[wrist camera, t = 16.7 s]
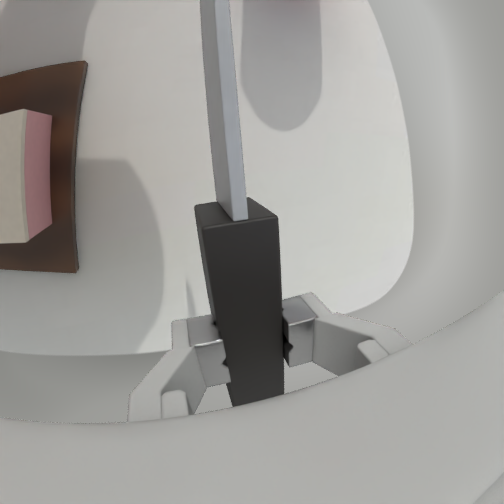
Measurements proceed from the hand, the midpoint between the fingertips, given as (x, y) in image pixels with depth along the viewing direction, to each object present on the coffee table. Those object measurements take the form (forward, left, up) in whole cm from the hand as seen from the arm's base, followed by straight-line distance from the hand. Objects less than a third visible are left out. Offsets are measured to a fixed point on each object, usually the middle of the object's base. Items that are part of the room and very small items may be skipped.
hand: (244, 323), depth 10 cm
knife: (-4, -1, -2) cm, 5 cm away
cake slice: (-4, -16, -14) cm, 22 cm away
